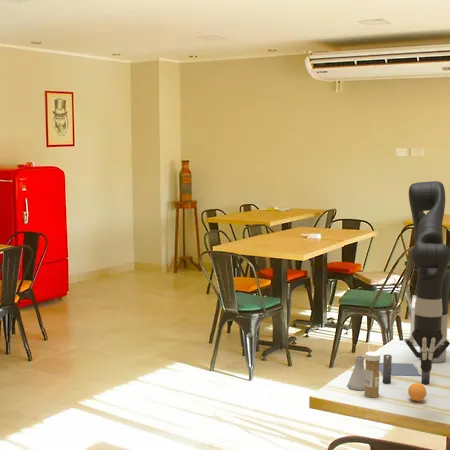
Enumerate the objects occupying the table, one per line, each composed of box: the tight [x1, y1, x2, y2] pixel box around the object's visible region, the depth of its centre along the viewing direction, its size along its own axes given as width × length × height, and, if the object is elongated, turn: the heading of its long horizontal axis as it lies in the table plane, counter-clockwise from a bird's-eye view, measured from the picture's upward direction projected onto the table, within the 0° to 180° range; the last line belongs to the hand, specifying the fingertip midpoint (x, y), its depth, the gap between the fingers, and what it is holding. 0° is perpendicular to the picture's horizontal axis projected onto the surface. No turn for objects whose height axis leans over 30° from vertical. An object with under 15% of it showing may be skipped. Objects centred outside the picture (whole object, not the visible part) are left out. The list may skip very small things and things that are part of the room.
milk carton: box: [409, 294, 420, 347], centre depth 277 cm, size 7×7×19 cm
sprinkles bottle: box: [364, 351, 381, 398], centre depth 219 cm, size 5×5×13 cm
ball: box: [407, 382, 427, 402], centre depth 216 cm, size 5×5×5 cm
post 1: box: [382, 354, 393, 385], centre depth 232 cm, size 3×3×9 cm
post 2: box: [420, 369, 431, 386], centre depth 231 cm, size 3×3×9 cm
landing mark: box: [379, 362, 422, 377], centre depth 246 cm, size 13×13×1 cm
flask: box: [346, 355, 365, 391], centre depth 227 cm, size 7×7×10 cm
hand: (425, 371), depth 205 cm, fingers closed
